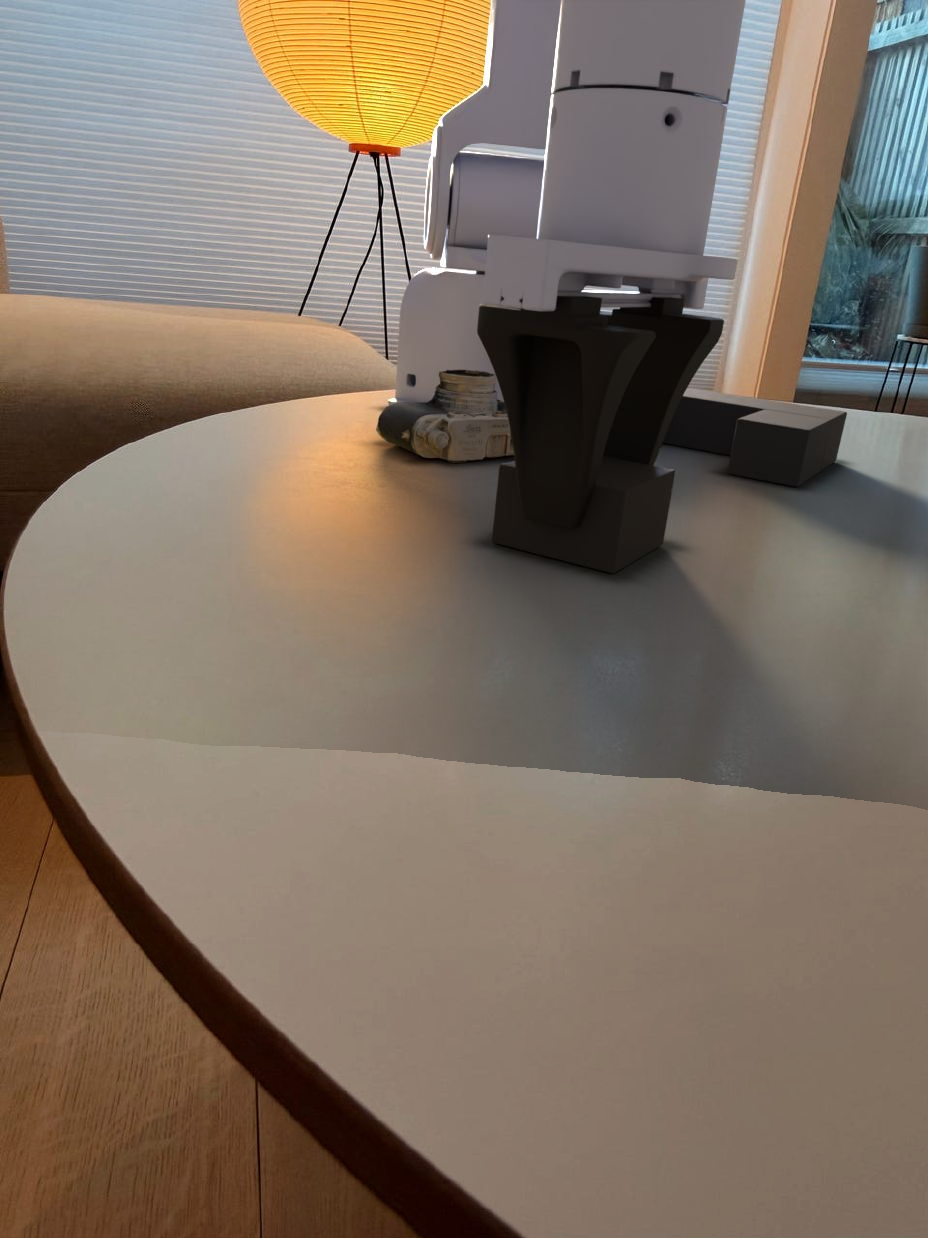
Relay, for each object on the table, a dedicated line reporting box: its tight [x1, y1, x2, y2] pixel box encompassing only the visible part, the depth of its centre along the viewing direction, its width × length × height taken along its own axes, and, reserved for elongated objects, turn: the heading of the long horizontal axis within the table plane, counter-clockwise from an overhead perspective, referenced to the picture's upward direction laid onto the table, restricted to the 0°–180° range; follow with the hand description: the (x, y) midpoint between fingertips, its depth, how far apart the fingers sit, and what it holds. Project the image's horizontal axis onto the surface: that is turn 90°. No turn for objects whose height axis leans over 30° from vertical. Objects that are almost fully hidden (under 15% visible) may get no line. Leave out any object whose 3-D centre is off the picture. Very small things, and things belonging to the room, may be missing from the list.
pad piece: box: [491, 456, 676, 575], centre depth 35 cm, size 5×5×3 cm
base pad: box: [662, 387, 848, 488], centre depth 56 cm, size 14×10×3 cm
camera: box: [375, 369, 514, 464], centre depth 50 cm, size 5×10×4 cm, turn 123°
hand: (583, 508), depth 35 cm, fingers closed on pad piece, 5 cm apart
